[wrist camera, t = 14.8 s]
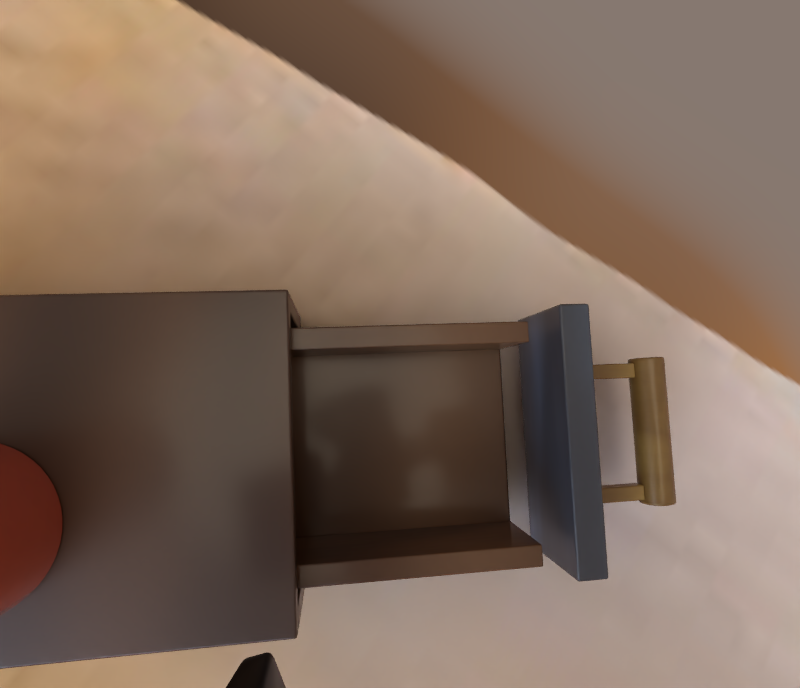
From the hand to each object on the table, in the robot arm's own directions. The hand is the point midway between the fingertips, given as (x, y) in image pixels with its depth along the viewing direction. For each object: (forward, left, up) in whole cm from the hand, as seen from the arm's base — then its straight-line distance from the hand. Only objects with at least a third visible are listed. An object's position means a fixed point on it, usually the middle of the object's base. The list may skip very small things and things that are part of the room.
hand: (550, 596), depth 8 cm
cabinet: (+6, +11, -16) cm, 20 cm away
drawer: (+1, -1, -15) cm, 15 cm away
